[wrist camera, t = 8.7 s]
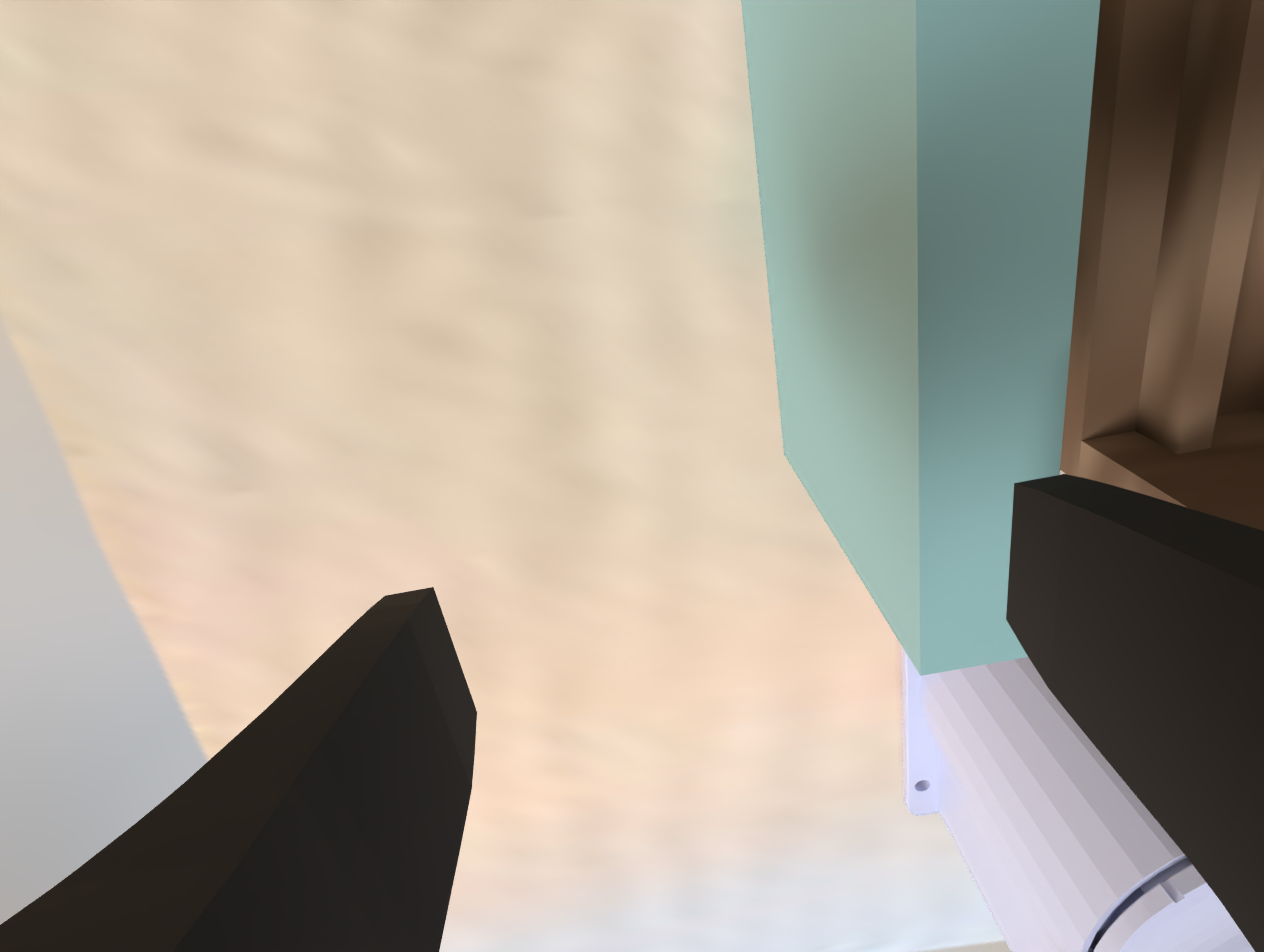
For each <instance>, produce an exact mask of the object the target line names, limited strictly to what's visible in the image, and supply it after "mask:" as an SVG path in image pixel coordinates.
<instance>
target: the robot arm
mask: <svg viewBox="0 0 1264 952" xmlns="http://www.w3.org/2000/svg"><path fill="white" fill-rule="evenodd" d="M1006 620H1007V622H1008V624H1009V625H1010V627H1011V629H1012V630H1013V632H1014V634H1015V635H1016V637H1017V639H1018V640H1019V642H1020V644H1021V646H1022V647H1023V649H1024V651H1025V652H1026V654H1027V656H1028V657H1024V658H1019V659H1013V660H1008V661H1002V662H996V663H991V664H985V665H979V666H974V667H968V668H962V669H957V670H951V671H946V672H940V673H934V674H929V675H923V676H920V675H919V673H918V671H917V670H916V668H915V666H914V665H913V663H912V661H911V660H910V658H909V657H908V655H907V653H906V652H905V650H904V648H903V647H902V706H903V766H904V802H905V805H906V807H907V809H908V811H909V812H910V813H911V814H913V815H917V816H922V815H928V814H934V813H940V815H941V817H942V819H943V821H944V823H945V825H946V827H947V829H948V831H949V832H950V834H951V836H952V838H953V840H954V842H955V844H956V846H957V848H958V850H959V852H960V854H961V856H962V858H963V859H964V861H965V863H966V865H967V867H968V869H969V871H970V873H971V875H972V877H973V879H974V881H975V883H976V885H977V887H978V888H979V890H980V892H981V894H982V896H983V898H984V900H985V902H986V904H987V906H988V908H989V910H990V912H991V914H992V916H993V917H994V919H995V921H996V923H997V925H998V927H999V929H1000V931H1001V933H1002V935H1003V937H1004V939H1005V941H1006V942H1007V944H1008V946H1009V948H1010V950H1011V952H1264V531H1262V530H1259V529H1256V528H1252V527H1249V526H1246V525H1242V524H1239V523H1236V522H1233V521H1229V520H1226V519H1223V518H1219V517H1216V516H1213V515H1210V514H1206V513H1203V512H1200V511H1197V510H1193V509H1190V508H1187V507H1184V506H1180V505H1177V504H1174V503H1171V502H1167V501H1164V500H1161V499H1158V498H1154V497H1151V496H1148V495H1144V494H1141V493H1138V492H1134V491H1131V490H1127V489H1124V488H1120V487H1117V486H1113V485H1110V484H1106V483H1102V482H1099V481H1095V480H1090V479H1086V478H1082V477H1077V476H1072V475H1067V474H1062V475H1057V476H1051V477H1045V478H1040V479H1034V480H1029V481H1023V482H1018V483H1014V495H1013V512H1012V529H1011V546H1010V562H1009V579H1008V596H1007V612H1006ZM901 646H902V645H901ZM476 719H477V711H476V708H475V705H474V702H473V700H472V697H471V694H470V691H469V688H468V685H467V682H466V680H465V677H464V674H463V671H462V668H461V665H460V662H459V660H458V657H457V654H456V651H455V648H454V645H453V642H452V639H451V637H450V634H449V631H448V628H447V625H446V622H445V619H444V617H443V614H442V611H441V608H440V605H439V602H438V599H437V597H436V594H435V591H434V588H433V587H432V588H426V589H420V590H415V591H409V592H404V593H398V594H393V595H387V596H384V597H383V598H382V599H381V600H380V601H378V602H377V603H376V604H375V605H374V606H372V607H371V608H370V609H369V610H368V611H367V612H366V613H365V614H364V615H363V616H361V617H360V618H359V619H358V620H357V621H356V622H355V623H354V624H353V625H352V626H351V627H350V628H349V629H348V630H347V631H346V632H345V633H344V634H343V635H342V636H341V637H340V638H339V639H338V640H337V641H336V642H335V643H334V644H333V645H331V646H330V647H329V648H328V649H327V650H326V651H325V652H324V653H323V654H322V655H321V656H320V657H319V658H318V659H317V660H316V661H315V662H314V663H313V664H312V665H311V666H310V667H309V668H308V669H307V670H306V671H305V672H304V673H303V674H302V675H301V676H300V677H299V678H298V679H297V680H296V681H295V682H294V683H293V684H291V685H290V686H289V687H288V688H287V689H286V690H285V691H284V692H283V693H282V694H281V695H280V696H279V697H278V698H277V699H276V700H275V701H274V702H273V703H272V704H271V705H270V706H269V707H268V708H267V709H266V710H265V711H264V712H262V713H261V714H260V715H259V716H258V717H257V718H256V719H255V720H254V721H252V722H251V723H250V724H249V725H248V726H247V727H246V728H245V729H244V730H243V731H241V732H240V733H239V734H238V735H237V736H236V737H235V738H234V739H233V740H231V741H230V742H229V743H228V744H227V745H226V746H225V747H224V748H223V749H221V750H220V751H219V752H218V753H217V754H216V755H215V756H214V757H213V758H211V759H210V760H209V761H208V762H207V763H206V764H205V765H204V766H203V767H202V768H200V769H199V770H198V771H197V772H196V773H195V774H194V775H193V776H192V777H190V778H189V779H188V780H187V781H186V782H185V783H184V784H183V785H181V786H180V787H179V788H178V789H177V790H175V791H174V792H173V793H172V794H171V795H170V796H168V797H167V798H166V799H165V800H164V801H162V802H161V803H160V804H159V805H158V806H156V807H155V808H154V809H153V810H152V811H150V812H149V813H148V814H147V815H145V816H144V817H143V818H142V819H141V820H139V821H138V822H137V823H136V824H135V825H133V826H132V827H131V828H129V829H128V830H127V831H126V832H124V833H123V834H122V835H121V836H119V837H118V838H117V839H115V840H114V841H113V842H112V843H110V844H109V845H108V846H107V847H105V848H104V849H103V850H101V851H100V852H99V853H98V854H96V855H95V856H94V857H93V858H91V859H90V860H89V861H87V862H86V863H85V864H83V865H82V866H81V867H80V868H78V869H77V870H76V871H74V872H73V873H72V874H71V875H69V876H68V877H67V878H65V879H64V880H62V881H61V882H60V883H58V884H57V885H56V886H54V887H53V888H52V889H51V890H49V891H48V892H46V893H45V894H43V895H42V896H41V897H39V898H38V899H36V900H35V901H34V902H32V903H31V904H29V905H28V906H26V907H25V908H24V909H22V910H21V911H20V912H18V913H17V914H15V915H14V916H12V917H11V918H10V919H8V920H7V921H5V922H4V923H2V924H1V925H0V952H439V949H440V944H441V939H442V934H443V929H444V925H445V920H446V915H447V910H448V905H449V900H450V895H451V890H452V885H453V881H454V876H455V871H456V866H457V861H458V856H459V851H460V846H461V841H462V836H463V831H464V826H465V821H466V816H467V810H468V805H469V800H470V794H471V789H472V778H473V766H474V754H475V736H476Z"/></svg>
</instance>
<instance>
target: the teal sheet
mask: <svg viewBox="0 0 1264 952" xmlns="http://www.w3.org/2000/svg"><path fill="white" fill-rule="evenodd" d="M741 3H742V13H743V24H744V34H745V45H746V56H747V66H748V77H749V87H750V98H751V109H752V119H753V130H754V140H755V151H756V162H757V172H758V183H759V193H760V204H761V215H762V225H763V236H764V246H765V257H766V268H767V278H768V289H769V299H770V310H771V320H772V331H773V342H774V352H775V363H776V373H777V384H778V395H779V405H780V416H781V426H782V437H783V448H784V455H785V457H786V458H787V460H788V461H789V463H790V465H791V466H792V468H793V470H794V471H795V473H796V474H797V476H798V478H799V479H800V481H801V483H802V484H803V486H804V487H805V489H806V491H807V492H808V494H809V496H810V497H811V499H812V500H813V502H814V504H815V505H816V507H817V509H818V510H819V512H820V513H821V515H822V517H823V518H824V520H825V522H826V523H827V525H828V526H829V528H830V530H831V531H832V533H833V535H834V536H835V538H836V539H837V541H838V543H839V544H840V546H841V548H842V549H843V551H844V553H845V554H846V556H847V557H848V559H849V561H850V562H851V564H852V566H853V567H854V569H855V570H856V572H857V574H858V575H859V577H860V579H861V580H862V582H863V583H864V585H865V587H866V588H867V590H868V592H869V593H870V595H871V596H872V598H873V600H874V601H875V603H876V605H877V606H878V608H879V609H880V611H881V613H882V614H883V616H884V618H885V619H886V621H887V622H888V624H889V626H890V627H891V629H892V631H893V632H894V634H895V635H896V637H897V639H898V640H899V642H900V644H901V645H902V647H903V648H904V650H905V652H906V653H907V655H908V657H909V658H910V660H911V661H912V663H913V665H914V666H915V668H916V670H917V671H918V673H919V675H920V676H923V675H929V674H934V673H940V672H946V671H951V670H957V669H962V668H968V667H974V666H979V665H985V664H991V663H996V662H1002V661H1008V660H1013V659H1019V658H1024V657H1028V656H1027V654H1026V652H1025V651H1024V649H1023V647H1022V646H1021V644H1020V642H1019V640H1018V639H1017V637H1016V635H1015V634H1014V632H1013V630H1012V629H1011V627H1010V625H1009V624H1008V622H1007V620H1006V612H1007V596H1008V579H1009V562H1010V546H1011V529H1012V512H1013V495H1014V483H1018V482H1023V481H1029V480H1034V479H1040V478H1045V477H1051V476H1057V475H1059V474H1060V462H1061V451H1062V439H1063V427H1064V416H1065V404H1066V393H1067V381H1068V369H1069V358H1070V346H1071V335H1072V323H1073V311H1074V300H1075V288H1076V277H1077V265H1078V253H1079V242H1080V230H1081V219H1082V207H1083V195H1084V184H1085V172H1086V161H1087V149H1088V137H1089V126H1090V114H1091V103H1092V91H1093V79H1094V68H1095V56H1096V45H1097V33H1098V21H1099V10H1100V0H741Z"/></svg>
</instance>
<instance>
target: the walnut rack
mask: <svg viewBox="0 0 1264 952" xmlns="http://www.w3.org/2000/svg"><path fill="white" fill-rule="evenodd" d="M1060 470H1062V471H1063V472H1064V473H1066V474H1067V475H1072V476H1077V477H1082V478H1086V479H1090V480H1095V481H1099V482H1102V483H1106V484H1110V485H1113V486H1117V487H1120V488H1124V489H1127V490H1131V491H1134V492H1138V493H1141V494H1144V495H1148V496H1151V497H1154V498H1158V499H1161V500H1164V501H1167V502H1171V503H1174V504H1177V505H1180V506H1184V507H1187V508H1190V509H1193V510H1197V511H1200V512H1203V513H1206V514H1210V515H1213V516H1216V517H1219V518H1223V519H1226V520H1229V521H1233V522H1236V523H1239V524H1242V525H1246V526H1249V527H1252V528H1256V529H1259V530H1262V531H1264V0H1100V10H1099V21H1098V33H1097V45H1096V56H1095V68H1094V79H1093V91H1092V103H1091V114H1090V126H1089V137H1088V149H1087V161H1086V172H1085V184H1084V195H1083V207H1082V219H1081V230H1080V242H1079V253H1078V265H1077V277H1076V288H1075V300H1074V311H1073V323H1072V335H1071V346H1070V358H1069V369H1068V381H1067V393H1066V404H1065V416H1064V427H1063V439H1062V451H1061V462H1060Z"/></svg>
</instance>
